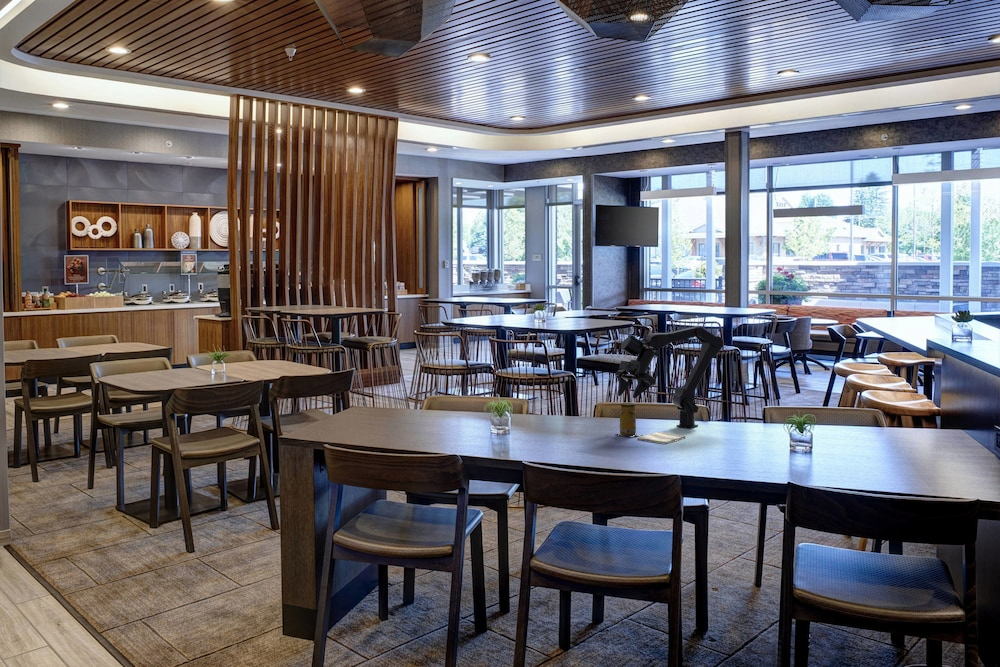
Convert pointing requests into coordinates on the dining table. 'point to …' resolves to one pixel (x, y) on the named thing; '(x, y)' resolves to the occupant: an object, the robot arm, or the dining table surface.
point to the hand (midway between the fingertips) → (626, 396)
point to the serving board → (661, 437)
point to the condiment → (627, 419)
